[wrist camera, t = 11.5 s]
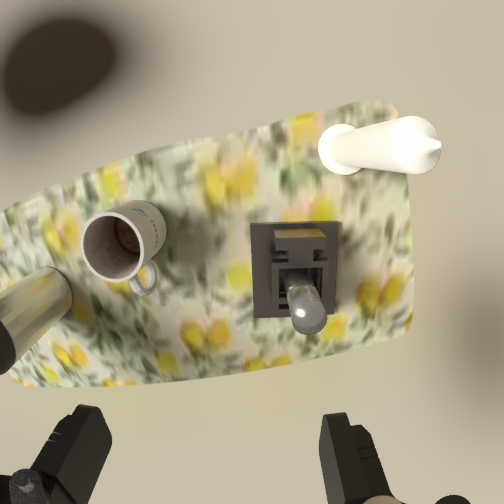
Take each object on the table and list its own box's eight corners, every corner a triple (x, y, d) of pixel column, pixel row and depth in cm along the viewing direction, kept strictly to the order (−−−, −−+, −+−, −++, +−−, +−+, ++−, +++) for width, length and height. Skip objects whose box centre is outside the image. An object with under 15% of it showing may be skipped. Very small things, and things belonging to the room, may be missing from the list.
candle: (367, 175, 42) (477, 199, 18) (318, 174, 42) (393, 196, 18) (366, 125, 40) (476, 101, 16) (317, 123, 40) (390, 85, 16)
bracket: (254, 314, 48) (253, 339, 41) (250, 223, 44) (249, 235, 38) (332, 311, 48) (343, 334, 41) (336, 220, 44) (350, 232, 37)
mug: (107, 206, 44) (73, 219, 34) (160, 194, 43) (135, 205, 34) (126, 283, 47) (99, 312, 38) (177, 277, 47) (159, 306, 37)
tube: (281, 260, 45) (292, 304, 31) (307, 259, 45) (328, 302, 31) (282, 286, 46) (291, 337, 32) (307, 285, 46) (326, 335, 32)
